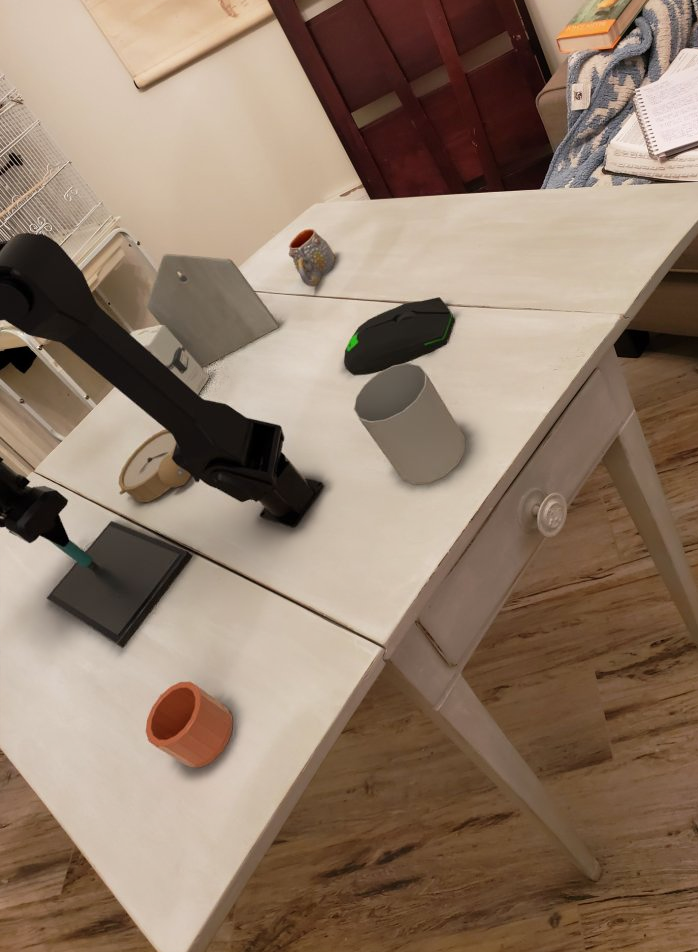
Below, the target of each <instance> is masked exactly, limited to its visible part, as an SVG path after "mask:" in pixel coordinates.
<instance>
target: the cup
mask: <svg viewBox="0 0 698 952" xmlns="http://www.w3.org/2000/svg"><path fill="white" fill-rule="evenodd" d="M353 411H354V412H355V415H356V416H357V419H358V420H359V422H361V424H362V426H363V427H364V428H365V430H366V431H367V433H368V434H369V435H370V436H371V438H372V439H373V441H374V443H375V444H376V445H377V446H378V448H379V449H380V450H381V453H383V455H384V456H385V458H386V459H387V460H388V462H389V463H390V465H391V466H392V468H393V469H394V471H396V473H397V474H398V476H399V477H400V479H401V480H402V481H404V482H407V483H410V485H411V484H412V485H424V484H425V485H426V484H430V483H433V482H434V481H437V480H440V479H442V478H443V477H446V476H447V475H448V474H450V472H451V471H452V470H454V469H455V468H456V467H458V465H459V463H460V461H461V459H462V458H463V456H464V454H465V452H466V437H465V435H464V434H463V432H462V430H461V429H460V427H459V425H458V424H457V422H456V420H455V419H454V417H453V415H452V413H451V412H450V411H449V409H448V406H447V405H446V403H445V402H444V400H443V399H442V396H441V395H440V394H439V392H438V390H437V389H436V387H435V386H434V383H433V382H432V380H431V379H430V377H429V375H428V374H427V372H426V371H425V370H424V369H423V367H422V366H421V365H419V364H415V363H410V362H405V363H403V364H400V365H394V366H392V367H390V368H388V369H386V370H383V371H379V372H377V373H376V374H375V375H374V376H373V377H371V379H369V380H368V381H367V382H366V383H365V384H363V386H362V387H361V389H360V391H359V392H358V393H357V395H356V397H355V400H354V406H353Z"/></svg>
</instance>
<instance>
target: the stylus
mask: <svg viewBox="0 0 698 952" xmlns="http://www.w3.org/2000/svg"><path fill="white" fill-rule="evenodd" d="M69 540H70V541H69V543H68V544H67V545H66V546H65V547H62V546H60V545H58V544H56V543H54V542H52V541H50V540H48V542H50V543H51V544H53V545H54V546H55V547H56V548H58V549H59V550H60V551H62V552H63V553H64V554H66V556H68V557H69V558H70V559H72V560H73V561H74V562H75V563H76V562H77V563H79V564H80V565H81V566H82V567H88V568H89V569H90V570H92V569H94V568H95V567H96V563H94V562H93V561H92V560H93V558H92V557H91V556H90V555H88V554H87V553H86V552H85V551H86V550H83V549H82V548H81V547H79V545H77V544H76V543H75V542H73V541H72V540H71V539H69Z"/></svg>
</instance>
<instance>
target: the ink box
mask: <svg viewBox="0 0 698 952" xmlns="http://www.w3.org/2000/svg"><path fill="white" fill-rule="evenodd" d="M129 334H130V335H131V336H133V337H134V338H135V339H136V340H137V341H138V342H139V343H140V344H141V345H143V346H144V347H145V348H146V349H147V350H148V351H149V352H150V353H152V354H153V355H154V356H155V357H156V358H157V359H158V360H159V361H160V362H162V363H163V364H164V365H165V366H166V367H167V368H168V369H169V370H171V371H172V372H173V373H174V374H175V375H176V376H177V377H178V378H179V379H181V380H182V381H183V382H184V383H185V384H186V385H187V386H188V387H190V388H191V389H192V390H193V391H194V392H195V393H196V394H197V395H198V396H199V394H200V393H201V391H202V389H203V388H204V386H205V385H206V383H207V381H208V380H209V379H210V376H209V374H208V373H207V372H206V371H205V370H204V369H203V368H201V367H200V365H199V364H198V363H197V362H196V361H195V360H194V359H193V357H192V356H191V355H190V354H189V353H188V352H187V350H186V349H185V348H184V347H183V346H182V345H181V344H180V342H179V341H178V340H177V339H176V338H175V337H174V335H173V334H172V333H171V332H170V331H169V330H168V328H167V327H166V326H165V325H161V324H158V325H154V326H148V327H144V328H140V329H137V330H133V331H131V333H129Z"/></svg>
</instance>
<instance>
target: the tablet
mask: <svg viewBox="0 0 698 952" xmlns="http://www.w3.org/2000/svg"><path fill="white" fill-rule="evenodd" d="M84 551H85V552H86V553H87V554H88V555H90V556H91V557H92V558H93V560H92V561H93V562H94V563H96V567H95V568H94V569H92V570H90V569H89V568H88V567H82V566H81V565H80V564H79V563H77V562H76V561H75V563H74V565H72V566H71V567H70V569H69V570H68V571H67V573H66V574H65V575H64V576H63V577H62V578H61V580H60V581H59V582H58V583H57V585H56V586H55V587H54V588H53V589H52V590H51V592H49V594H47V597H46V600H48V601H49V602H50V603H52V604H54V605H56V606H57V607H58V608H60V609H62V610H63V611H64V612H66V613H68V614H69V615H70V616H72V617H74V618H76V619H77V620H79V621H80V622H82V623H84V625H86V626H88V627H89V628H91V629H93V630H94V631H96V632H98V633H99V634H100V635H102V636H104V637H106V639H108V640H110V641H112V642H113V643H115V644H116V645H118V646H119V647H121V648H124V646H125V645H126V644H127V643H128V642H129V640H130V639H131V638H132V636H133V635H134V634H135V632H136V631H137V630H138V628H139V627H140V625H141V624H142V623H143V621H144V620H145V619H146V618H147V616H148V615H149V614H150V612H151V611H152V610H153V608H154V607H155V606H156V604H158V602H159V601H160V599H161V598H162V596H163V595H164V594H165V593H166V592H167V590H168V589H169V588H170V586H171V585H172V584H173V582H174V581H175V579H177V577H178V576H179V574H180V573H181V572H182V571H183V569H184V568H185V566H186V565H187V564H188V562H189V561H190V560H191V559H192V557H193V554H192V553H190V552H189V551H188V550H185V549H183V548H180V547H178V546H175V545H172V544H171V543H168V542H165V541H163V540H160V539H158V538H155V537H154V536H150V535H147V534H145V533H142V532H140V531H137V530H135V529H133V528H130V527H128V526H125V525H123V524H120V523H117V522H115V521H113V520H111V521H109V522H108V524H107V525H106V526H105V527H104V528H103V530H102V531H101V532H100V533H99V534H98V536H97V537H96V538H95V540H93V542H91V544H90V545H89V547H87V549H86V550H84Z"/></svg>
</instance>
